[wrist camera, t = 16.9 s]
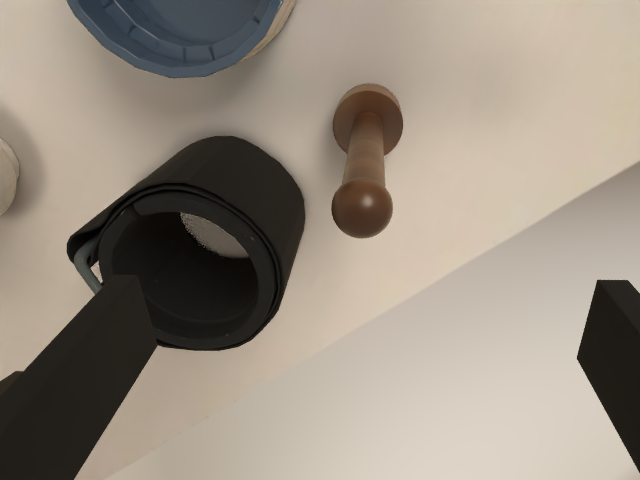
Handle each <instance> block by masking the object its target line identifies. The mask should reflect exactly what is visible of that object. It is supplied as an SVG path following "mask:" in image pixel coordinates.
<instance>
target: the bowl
mask: <svg viewBox="0 0 640 480" xmlns="http://www.w3.org/2000/svg"><path fill="white" fill-rule="evenodd" d="M66 1H67V3H68V4H69V6H70V8H71V10H72V12H73V13H74V15H75V16H76V17H77V19H78V20H79V21H80V22H81V23H82V24H83V25H84V26H85V27H86V28H87V30H88V31H89V32H90V33H91V34H92V35H93V36H94V37H95V38H96V39H97V40H98V42H99V43H100V44H101V45H102V46H104V47H105V48H106V49H108V50H109V51H111V52H112V53H114V54H116V55H117V56H119V57H120V58H122V59H123V60H125V61H126V62H128V63H129V64H131V65H133V66H134V67H137V68H138V69H141V70H145V71H148V72H152V73H155V74H158V75H162V76H165V77H169V78H188V77H205V76H209V75H211V74H213V73H216V72H218V71H220V70H223V69H225V68H227V67H230V66H232V65H235V64H237V63H239V62H241V61H243V60H245V59H247V58H249V57H252V56H254V55H255V54H257V53H258V52H259V51H260V50H261V49H262V48H263V47H264V46H266V45H267V44H268V43H269V42H270V41H271V40H272V39H273V38H274V37H275V36H276V35H277V34H278V33H279V32H280V31H281V29H282V27H283V25H284V23H285V22H286V20H287V18H288V16H289V14H290V12H291V11H292V9H293V7H294V5H295V3H296V1H297V0H66Z"/></svg>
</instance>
